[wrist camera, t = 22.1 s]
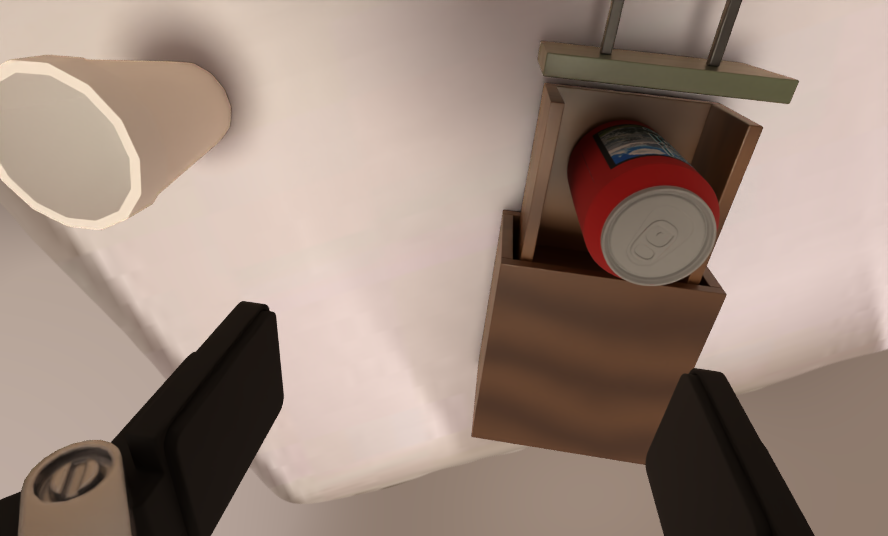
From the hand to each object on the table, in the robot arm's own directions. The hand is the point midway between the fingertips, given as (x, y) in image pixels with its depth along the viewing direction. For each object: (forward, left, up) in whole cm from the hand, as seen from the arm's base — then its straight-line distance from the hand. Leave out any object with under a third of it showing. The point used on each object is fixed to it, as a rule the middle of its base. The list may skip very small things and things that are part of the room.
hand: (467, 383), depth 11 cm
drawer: (-2, +8, -27) cm, 29 cm away
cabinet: (+14, +11, -28) cm, 33 cm away
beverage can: (0, +9, -26) cm, 28 cm away
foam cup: (+6, -23, -28) cm, 37 cm away
